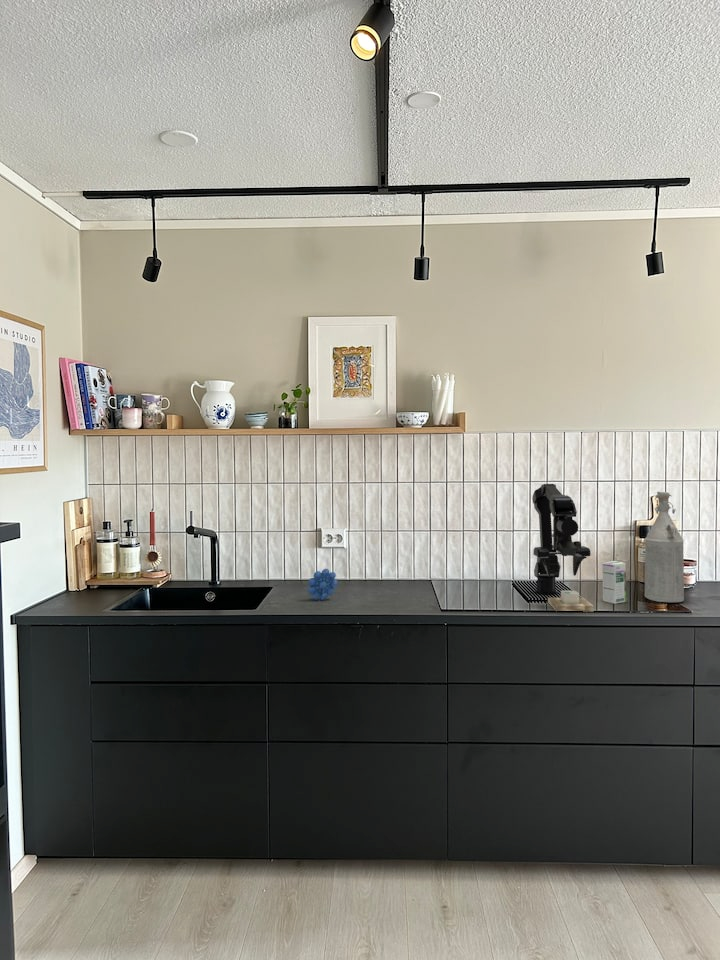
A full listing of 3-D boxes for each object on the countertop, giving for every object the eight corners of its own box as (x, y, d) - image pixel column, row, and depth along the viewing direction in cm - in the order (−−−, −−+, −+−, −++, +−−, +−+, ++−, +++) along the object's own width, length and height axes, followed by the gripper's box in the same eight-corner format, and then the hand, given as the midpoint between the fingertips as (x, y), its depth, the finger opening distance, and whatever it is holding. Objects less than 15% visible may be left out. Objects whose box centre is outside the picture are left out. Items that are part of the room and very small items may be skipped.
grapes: (337, 597, 245) (336, 566, 245) (338, 601, 238) (338, 569, 238) (307, 598, 244) (306, 567, 243) (307, 602, 237) (307, 570, 237)
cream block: (575, 605, 225) (575, 589, 225) (579, 609, 220) (579, 592, 220) (561, 605, 225) (560, 589, 225) (564, 609, 220) (564, 592, 220)
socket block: (582, 603, 228) (582, 597, 228) (593, 611, 216) (593, 605, 216) (548, 603, 229) (547, 597, 229) (556, 611, 217) (556, 605, 217)
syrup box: (615, 604, 226) (615, 563, 225) (602, 601, 231) (602, 561, 231) (626, 602, 229) (626, 562, 228) (613, 599, 234) (613, 560, 233)
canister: (654, 604, 224) (654, 493, 223) (638, 594, 242) (638, 490, 240) (692, 604, 223) (692, 492, 222) (673, 594, 240) (673, 490, 239)
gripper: (542, 535, 215) (542, 581, 216) (596, 534, 216) (596, 579, 217) (532, 531, 227) (533, 574, 227) (584, 530, 227) (584, 573, 228)
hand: (561, 575), depth 224 cm, fingers open, 9 cm apart
